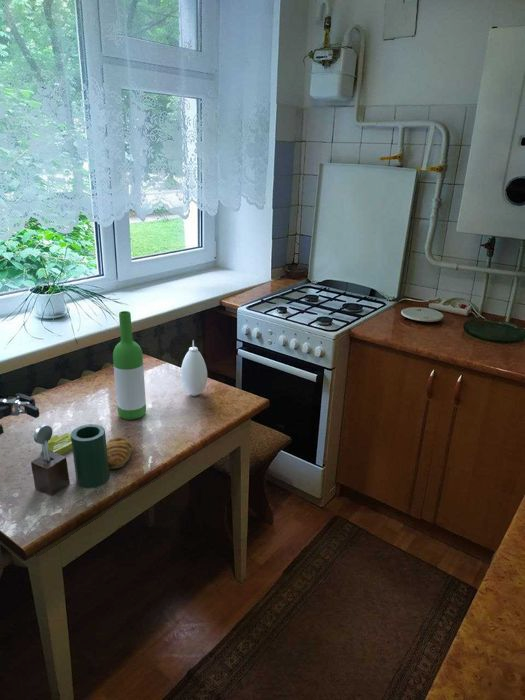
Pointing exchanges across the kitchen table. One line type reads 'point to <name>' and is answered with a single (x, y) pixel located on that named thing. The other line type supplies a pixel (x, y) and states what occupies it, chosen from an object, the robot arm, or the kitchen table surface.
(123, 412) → the wine bottle
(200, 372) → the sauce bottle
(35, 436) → the spoon
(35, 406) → the robot arm
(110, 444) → the pastry
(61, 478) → the spoon stand
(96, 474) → the green hollow tube
